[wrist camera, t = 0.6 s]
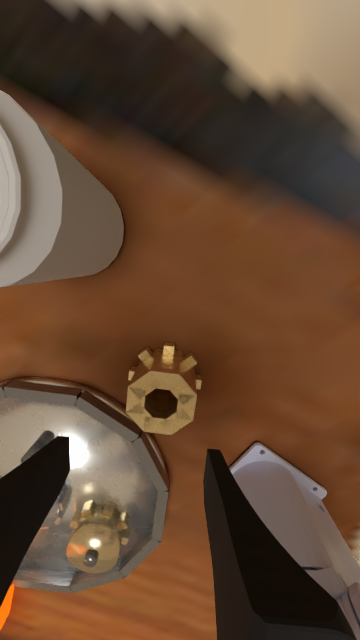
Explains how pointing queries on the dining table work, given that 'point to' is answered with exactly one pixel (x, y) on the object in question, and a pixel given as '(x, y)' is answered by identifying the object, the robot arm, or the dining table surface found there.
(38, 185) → the can
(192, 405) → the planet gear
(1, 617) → the orange juice
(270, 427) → the dining table surface
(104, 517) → the carrier
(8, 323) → the dining table surface
